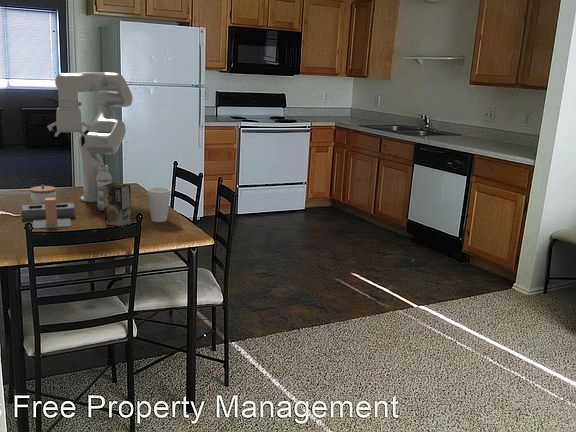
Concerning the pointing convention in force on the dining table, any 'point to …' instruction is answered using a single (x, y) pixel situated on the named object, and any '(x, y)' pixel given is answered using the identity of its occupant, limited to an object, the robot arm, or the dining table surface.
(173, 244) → the dining table surface
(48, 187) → the lidded jar
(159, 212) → the foam cup
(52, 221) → the plug
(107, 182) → the plastic bottle
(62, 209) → the socket plate
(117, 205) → the coffee box
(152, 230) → the dining table surface
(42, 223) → the mat
